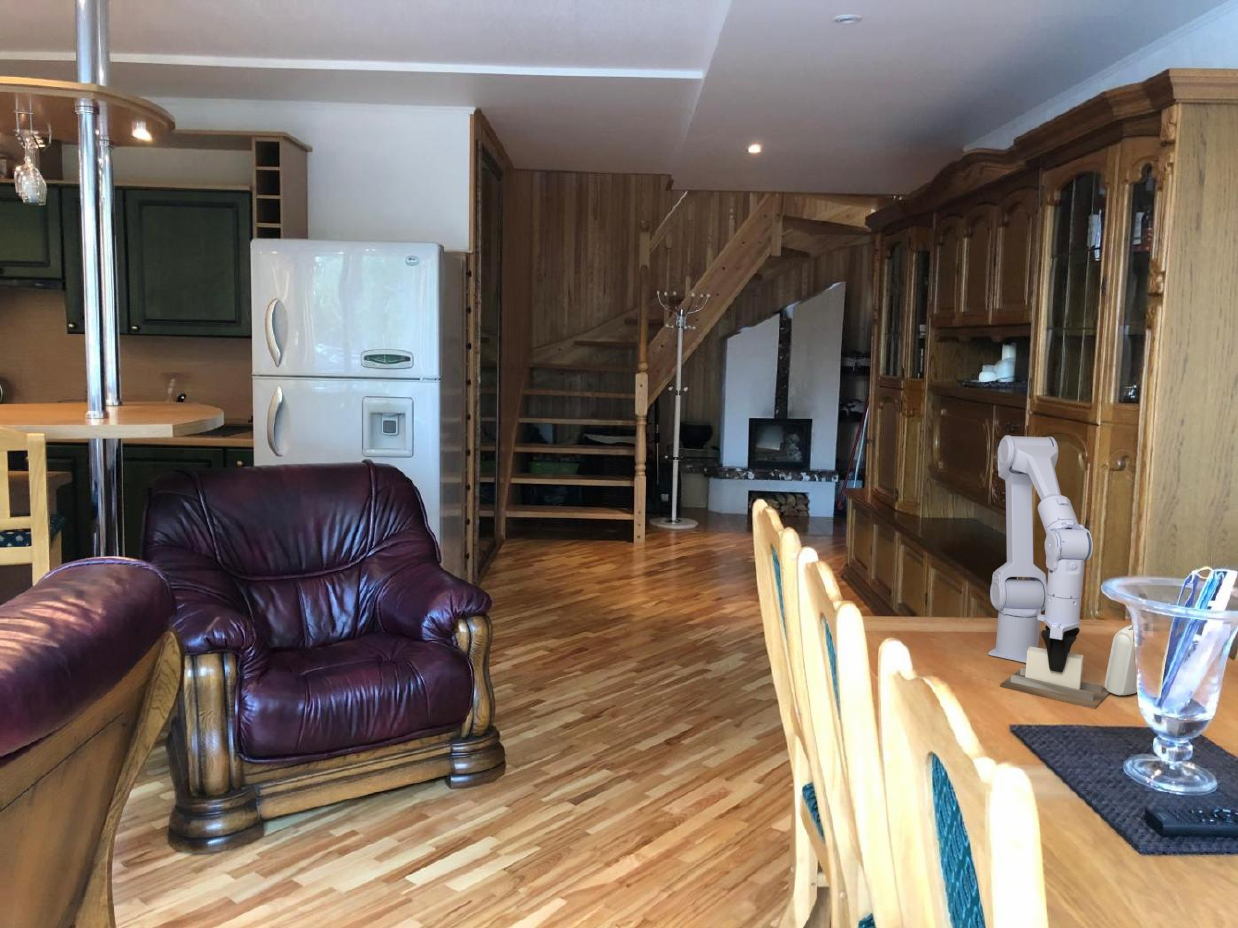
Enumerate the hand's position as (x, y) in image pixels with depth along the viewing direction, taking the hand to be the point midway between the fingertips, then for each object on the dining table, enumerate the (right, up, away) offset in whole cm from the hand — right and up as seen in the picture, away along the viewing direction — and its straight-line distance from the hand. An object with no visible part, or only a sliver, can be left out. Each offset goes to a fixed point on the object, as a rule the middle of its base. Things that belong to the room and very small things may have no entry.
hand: (1057, 668), depth 176 cm
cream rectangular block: (-1, -3, +1) cm, 3 cm away
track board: (0, -4, 0) cm, 4 cm away
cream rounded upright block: (+13, -4, 0) cm, 13 cm away
